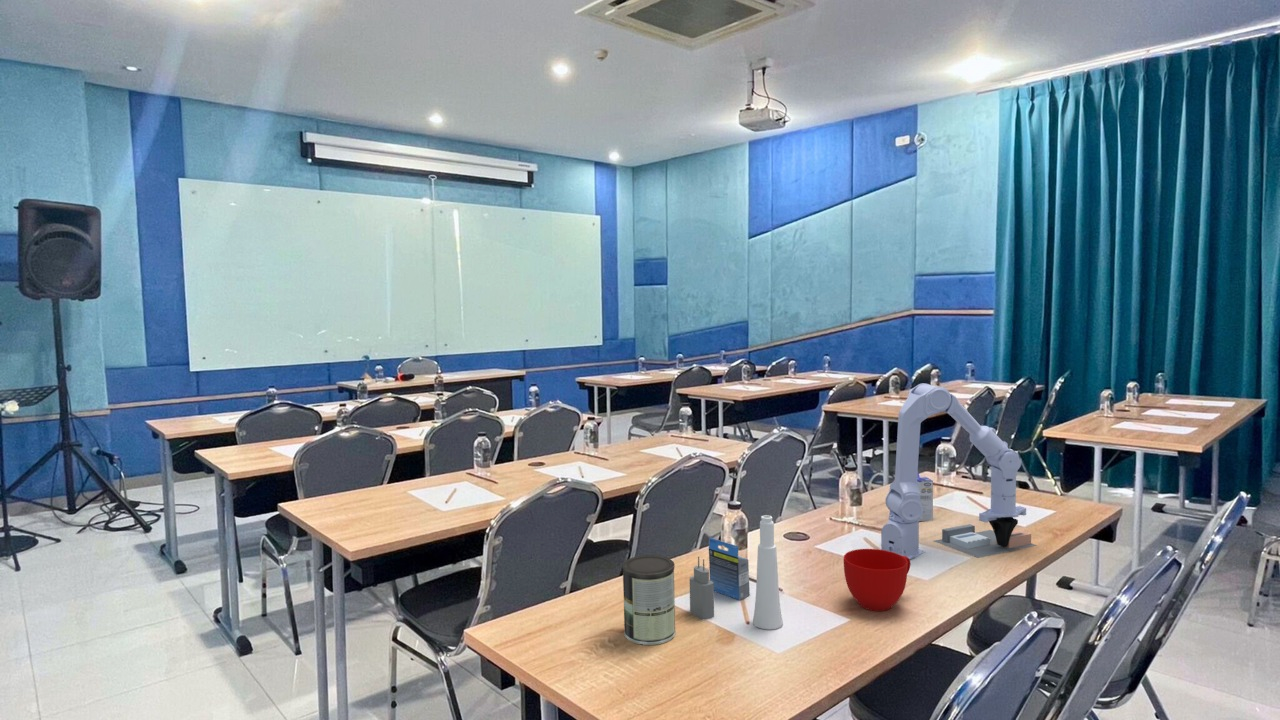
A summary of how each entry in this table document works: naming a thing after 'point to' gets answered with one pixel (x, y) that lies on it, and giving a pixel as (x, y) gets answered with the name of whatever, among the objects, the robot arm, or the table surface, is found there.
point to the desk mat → (986, 549)
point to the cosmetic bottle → (767, 580)
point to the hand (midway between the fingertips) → (1002, 545)
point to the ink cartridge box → (926, 497)
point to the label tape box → (728, 570)
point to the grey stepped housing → (964, 537)
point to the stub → (1018, 539)
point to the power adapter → (701, 593)
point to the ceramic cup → (876, 577)
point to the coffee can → (649, 599)
